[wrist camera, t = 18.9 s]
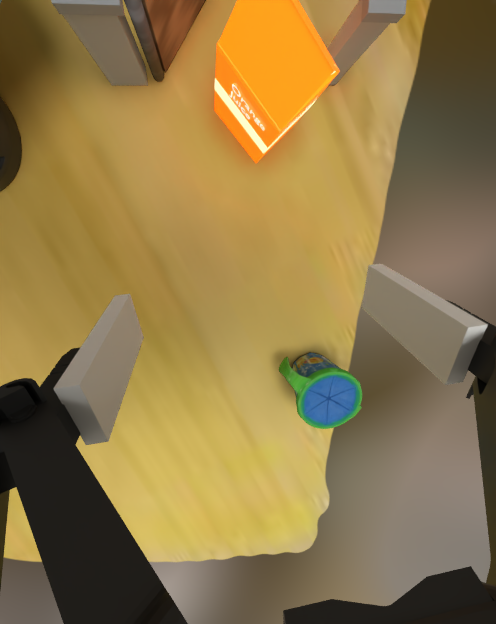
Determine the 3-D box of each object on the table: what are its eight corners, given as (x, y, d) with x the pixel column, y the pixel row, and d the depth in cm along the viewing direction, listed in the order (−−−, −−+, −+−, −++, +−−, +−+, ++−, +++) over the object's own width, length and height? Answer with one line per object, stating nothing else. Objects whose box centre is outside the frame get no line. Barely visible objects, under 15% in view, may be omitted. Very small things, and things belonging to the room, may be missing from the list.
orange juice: (255, 164, 40) (296, 110, 21) (213, 110, 37) (216, -8, 18) (295, 124, 39) (375, 31, 20) (255, 65, 36) (303, -107, 17)
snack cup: (260, 369, 51) (272, 403, 41) (296, 326, 49) (318, 351, 39) (319, 407, 55) (342, 445, 45) (354, 369, 53) (386, 400, 44)
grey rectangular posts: (112, 88, 35) (52, 3, 21) (108, 63, 34) (42, -42, 21) (336, 87, 38) (405, 13, 25) (337, 65, 37) (408, -25, 24)
